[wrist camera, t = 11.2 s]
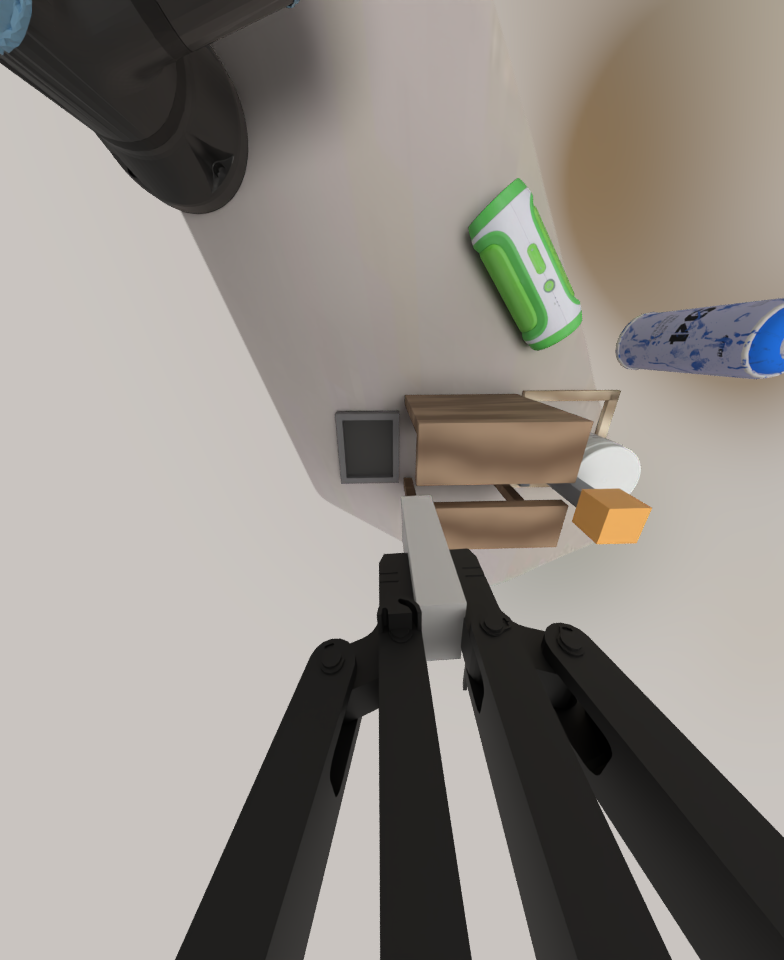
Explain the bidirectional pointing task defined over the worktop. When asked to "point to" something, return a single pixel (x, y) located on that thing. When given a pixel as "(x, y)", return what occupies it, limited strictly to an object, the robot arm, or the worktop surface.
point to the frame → (580, 395)
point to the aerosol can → (708, 340)
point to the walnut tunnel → (496, 464)
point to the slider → (604, 512)
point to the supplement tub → (609, 465)
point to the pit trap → (368, 446)
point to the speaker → (526, 267)
